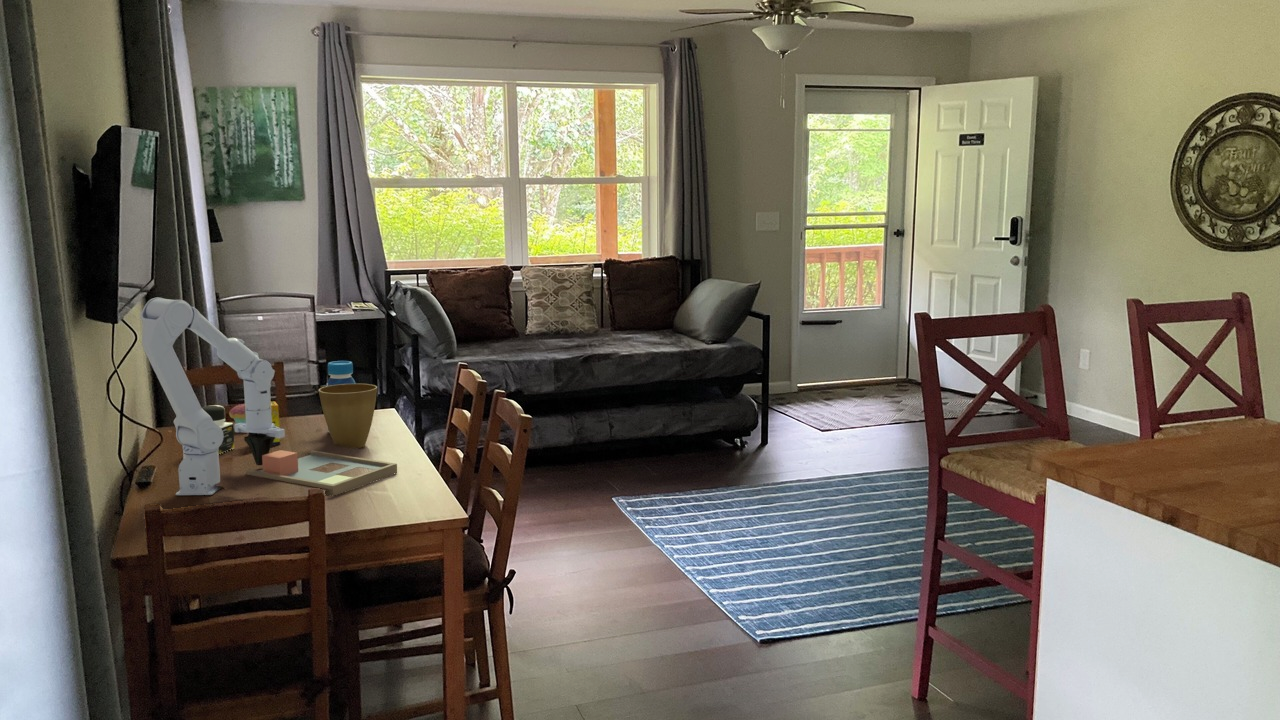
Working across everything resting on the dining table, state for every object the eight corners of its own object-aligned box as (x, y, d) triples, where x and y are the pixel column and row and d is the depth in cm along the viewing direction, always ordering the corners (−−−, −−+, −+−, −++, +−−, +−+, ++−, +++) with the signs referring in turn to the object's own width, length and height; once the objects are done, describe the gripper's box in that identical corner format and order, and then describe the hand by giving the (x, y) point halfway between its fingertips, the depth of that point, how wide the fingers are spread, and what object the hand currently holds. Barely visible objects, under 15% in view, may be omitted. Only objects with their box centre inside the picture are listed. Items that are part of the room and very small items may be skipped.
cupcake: (268, 427, 278) (266, 386, 276) (242, 432, 271) (240, 391, 269) (249, 423, 282) (247, 383, 280) (223, 429, 275) (221, 388, 273)
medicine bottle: (218, 455, 246) (215, 409, 244) (193, 454, 248) (190, 408, 246) (235, 448, 253) (232, 404, 251) (211, 447, 254) (208, 403, 253)
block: (263, 474, 224) (262, 455, 223) (281, 468, 229) (280, 450, 228) (280, 477, 222) (279, 458, 221) (298, 471, 227) (297, 452, 226)
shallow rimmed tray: (246, 480, 224) (246, 470, 224) (313, 459, 243) (313, 450, 242) (333, 496, 212) (333, 486, 212) (397, 473, 231) (396, 463, 231)
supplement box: (280, 444, 258) (278, 404, 256) (257, 447, 255) (254, 407, 253) (277, 440, 263) (275, 400, 261) (254, 442, 260) (251, 403, 258)
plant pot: (390, 444, 259) (388, 386, 256) (347, 456, 246) (344, 395, 244) (353, 437, 266) (350, 380, 264) (309, 448, 254) (306, 389, 251)
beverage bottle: (362, 428, 277) (359, 360, 274) (352, 435, 268) (349, 365, 265) (333, 428, 277) (330, 359, 274) (323, 435, 269) (319, 364, 266)
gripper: (293, 408, 227) (296, 463, 229) (249, 402, 233) (253, 456, 236) (270, 414, 221) (273, 471, 223) (225, 407, 227) (229, 463, 229)
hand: (261, 464), depth 229 cm, fingers closed
